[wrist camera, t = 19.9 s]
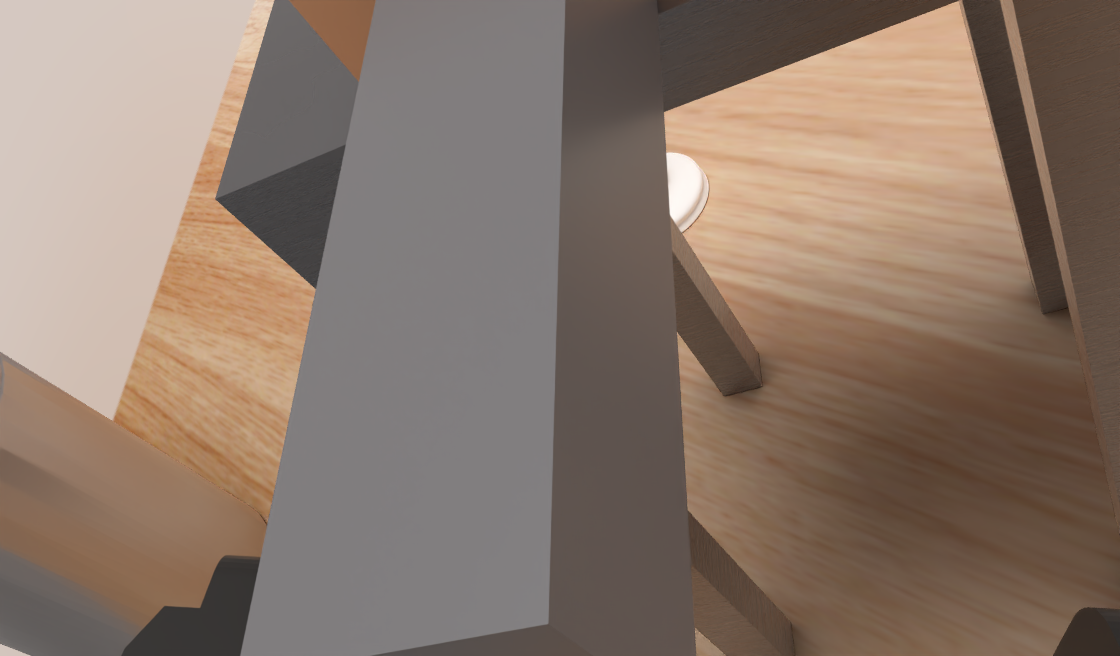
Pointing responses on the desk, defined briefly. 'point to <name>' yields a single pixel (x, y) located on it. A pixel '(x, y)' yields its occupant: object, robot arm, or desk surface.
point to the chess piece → (685, 189)
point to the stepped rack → (701, 312)
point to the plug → (488, 349)
